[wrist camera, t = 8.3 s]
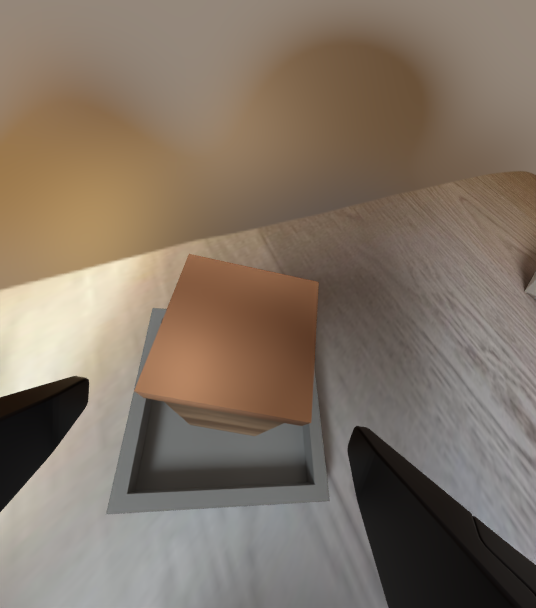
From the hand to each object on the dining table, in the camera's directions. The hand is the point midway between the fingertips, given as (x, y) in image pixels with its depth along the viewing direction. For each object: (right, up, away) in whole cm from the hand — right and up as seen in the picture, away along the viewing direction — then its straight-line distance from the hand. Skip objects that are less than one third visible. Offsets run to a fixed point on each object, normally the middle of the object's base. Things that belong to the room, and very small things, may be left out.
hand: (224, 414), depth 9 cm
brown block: (-1, -3, +10) cm, 10 cm away
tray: (-1, -3, +10) cm, 11 cm away
